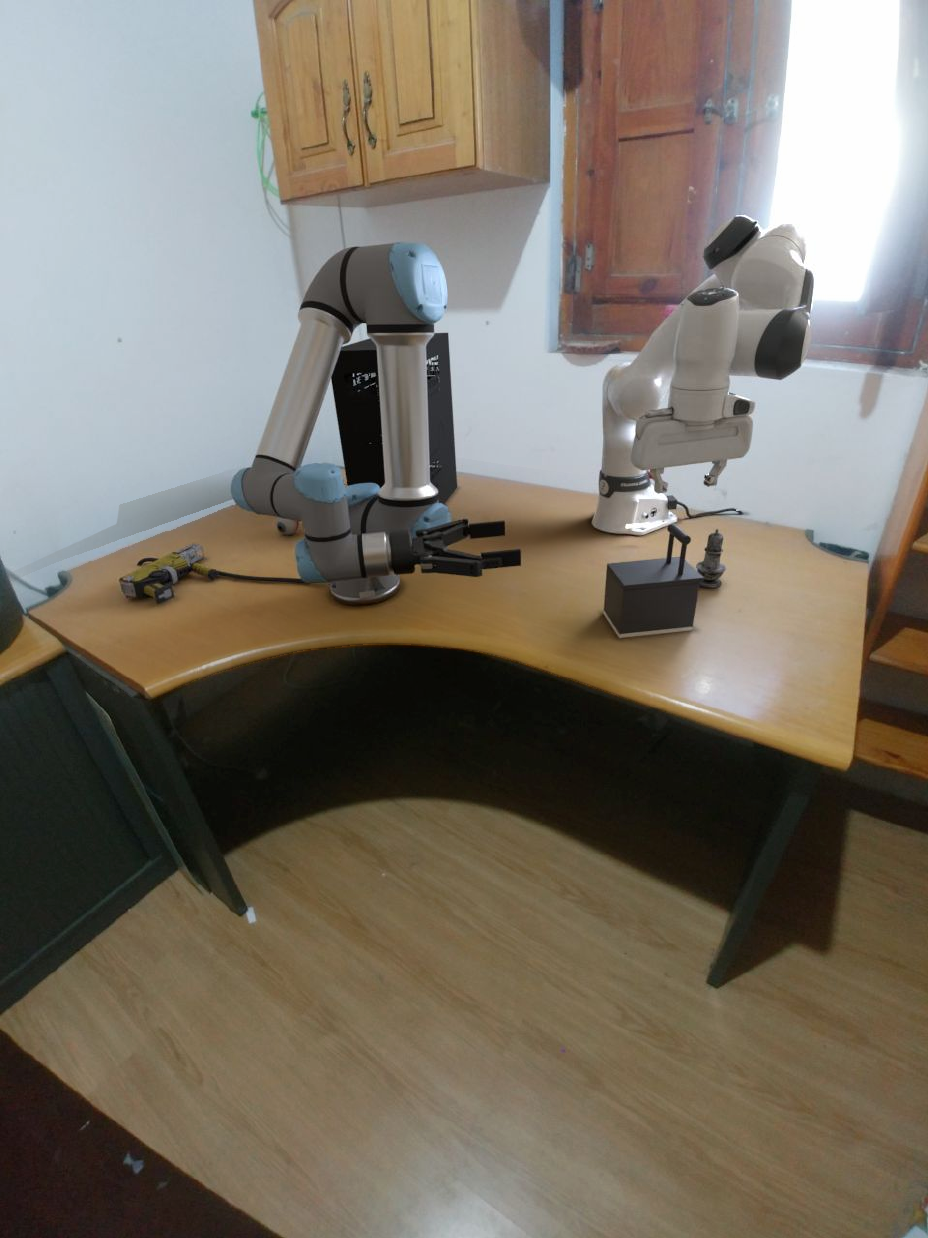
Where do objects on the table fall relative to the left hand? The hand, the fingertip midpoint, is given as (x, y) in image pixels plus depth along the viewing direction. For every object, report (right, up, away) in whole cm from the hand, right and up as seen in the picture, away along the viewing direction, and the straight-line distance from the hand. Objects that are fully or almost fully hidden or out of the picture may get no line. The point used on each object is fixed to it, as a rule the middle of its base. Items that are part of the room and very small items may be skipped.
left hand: (512, 541), depth 105 cm
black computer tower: (-25, +20, +75) cm, 82 cm away
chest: (+27, -14, +11) cm, 32 cm away
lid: (+26, -5, +6) cm, 28 cm away
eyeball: (-56, +10, +60) cm, 83 cm away
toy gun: (-74, -5, +37) cm, 83 cm away
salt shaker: (+44, -6, +23) cm, 50 cm away
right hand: (+30, +9, -2) cm, 31 cm away
